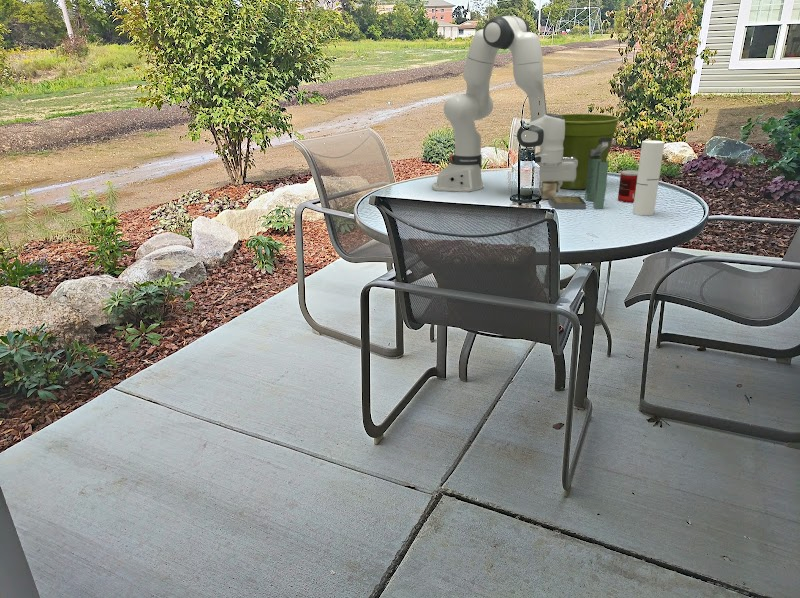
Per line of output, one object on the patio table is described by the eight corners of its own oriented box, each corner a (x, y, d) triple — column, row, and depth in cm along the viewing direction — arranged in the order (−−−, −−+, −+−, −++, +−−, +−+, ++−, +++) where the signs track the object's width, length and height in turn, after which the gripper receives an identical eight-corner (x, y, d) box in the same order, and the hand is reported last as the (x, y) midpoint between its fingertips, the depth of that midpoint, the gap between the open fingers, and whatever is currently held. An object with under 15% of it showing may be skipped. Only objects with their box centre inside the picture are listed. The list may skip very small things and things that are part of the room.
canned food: (639, 198, 231) (643, 170, 227) (637, 203, 225) (641, 174, 221) (618, 197, 235) (622, 169, 230) (616, 201, 228) (619, 173, 224)
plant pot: (542, 178, 274) (546, 113, 263) (609, 180, 266) (617, 113, 255) (538, 191, 247) (543, 120, 236) (612, 194, 240) (621, 121, 229)
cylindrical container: (655, 215, 207) (666, 143, 198) (634, 215, 209) (643, 143, 199) (651, 210, 214) (662, 140, 204) (631, 210, 215) (640, 140, 206)
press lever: (589, 158, 226) (589, 149, 226) (599, 158, 226) (600, 149, 226) (600, 147, 210) (600, 138, 210) (611, 147, 210) (611, 137, 210)
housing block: (542, 198, 234) (543, 183, 232) (540, 196, 238) (542, 181, 236) (555, 198, 233) (556, 183, 231) (553, 196, 238) (554, 181, 236)
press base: (552, 209, 219) (556, 163, 213) (546, 198, 235) (549, 155, 228) (605, 209, 218) (610, 162, 211) (594, 198, 233) (599, 155, 227)
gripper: (576, 155, 232) (573, 190, 237) (524, 155, 233) (522, 190, 239) (580, 158, 226) (576, 194, 231) (526, 158, 228) (523, 194, 233)
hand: (548, 192), depth 235 cm, fingers closed on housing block, 5 cm apart
